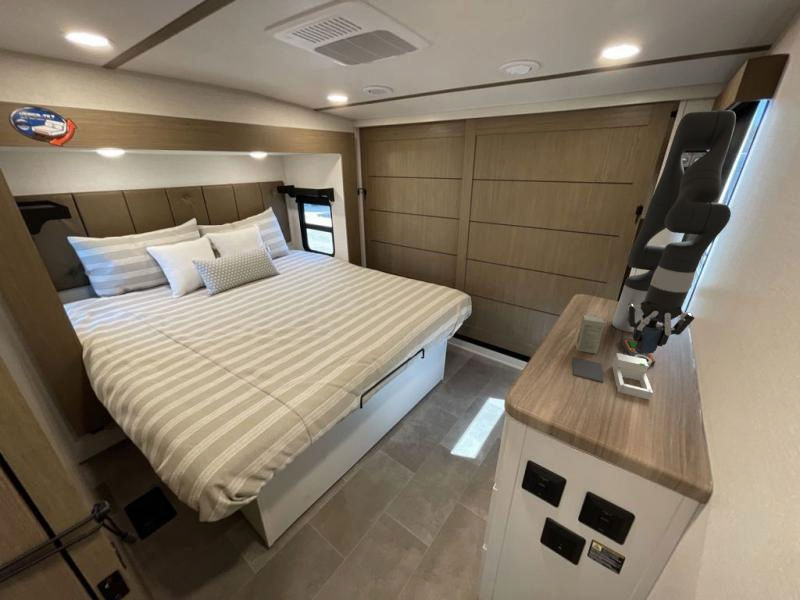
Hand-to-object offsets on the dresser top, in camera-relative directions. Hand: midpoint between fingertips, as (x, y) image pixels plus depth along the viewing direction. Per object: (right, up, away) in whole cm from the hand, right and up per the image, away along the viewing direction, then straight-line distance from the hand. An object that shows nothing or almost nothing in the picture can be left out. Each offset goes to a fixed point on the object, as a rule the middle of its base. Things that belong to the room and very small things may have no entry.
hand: (647, 342), depth 83 cm
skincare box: (-3, -6, +24) cm, 24 cm away
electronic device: (+13, -8, +20) cm, 25 cm away
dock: (+3, -11, +12) cm, 16 cm away
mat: (-9, -10, +13) cm, 19 cm away
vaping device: (0, -3, +1) cm, 3 cm away
